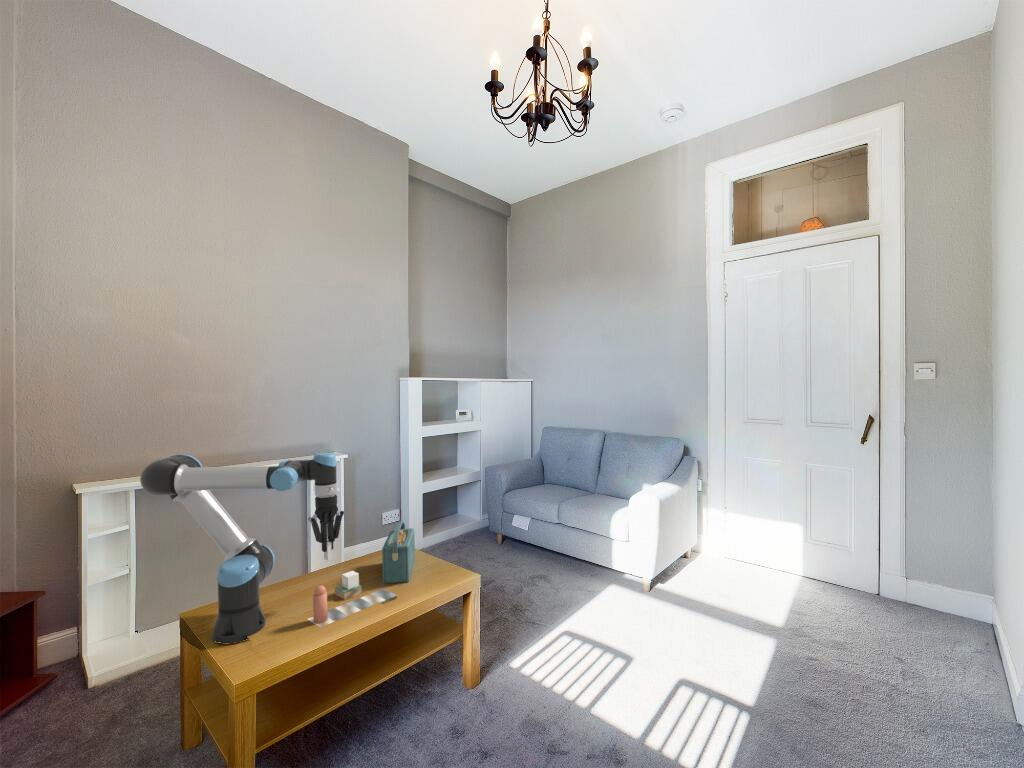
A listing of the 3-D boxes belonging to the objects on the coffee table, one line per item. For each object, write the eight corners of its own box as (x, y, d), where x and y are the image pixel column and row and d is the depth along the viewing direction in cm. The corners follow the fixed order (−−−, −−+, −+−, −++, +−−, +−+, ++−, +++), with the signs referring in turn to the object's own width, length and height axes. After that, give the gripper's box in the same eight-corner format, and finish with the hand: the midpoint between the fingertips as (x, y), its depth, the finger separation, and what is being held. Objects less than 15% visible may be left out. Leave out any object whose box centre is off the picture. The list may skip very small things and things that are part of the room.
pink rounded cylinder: (317, 624, 155) (316, 589, 155) (311, 620, 157) (310, 586, 157) (330, 619, 158) (329, 585, 158) (323, 615, 161) (322, 582, 161)
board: (320, 631, 153) (320, 627, 153) (307, 622, 159) (307, 619, 159) (396, 598, 176) (396, 594, 176) (383, 591, 181) (383, 588, 181)
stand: (344, 603, 172) (344, 592, 172) (335, 597, 177) (334, 587, 177) (361, 596, 178) (361, 585, 178) (351, 591, 182) (351, 581, 182)
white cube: (348, 589, 175) (347, 577, 175) (341, 586, 178) (341, 574, 178) (359, 585, 178) (358, 573, 178) (352, 582, 181) (352, 570, 181)
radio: (391, 561, 213) (390, 517, 213) (415, 559, 214) (414, 516, 215) (381, 585, 188) (380, 535, 188) (409, 583, 189) (408, 533, 189)
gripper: (313, 500, 164) (315, 567, 164) (347, 493, 174) (349, 556, 174) (303, 497, 169) (305, 562, 169) (337, 490, 179) (339, 552, 179)
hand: (327, 559), depth 171 cm, fingers closed
